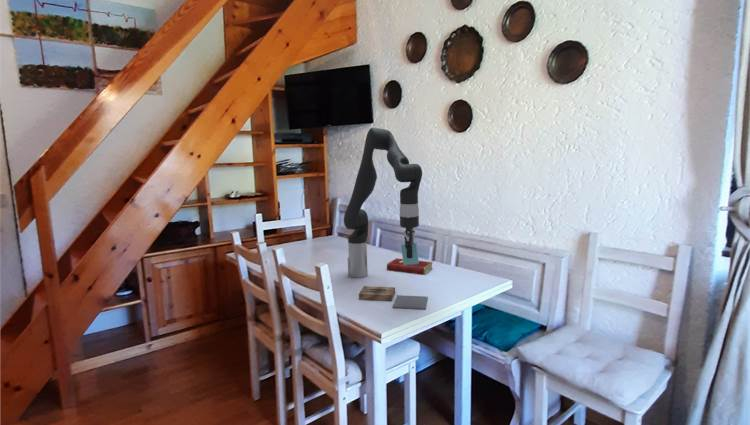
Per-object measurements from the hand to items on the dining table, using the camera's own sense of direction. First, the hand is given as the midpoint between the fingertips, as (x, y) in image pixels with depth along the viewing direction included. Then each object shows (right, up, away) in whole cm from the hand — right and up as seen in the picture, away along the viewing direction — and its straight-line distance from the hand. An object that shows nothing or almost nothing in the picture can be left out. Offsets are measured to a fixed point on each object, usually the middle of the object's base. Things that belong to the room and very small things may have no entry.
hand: (410, 257), depth 166 cm
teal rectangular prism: (+1, -3, 0) cm, 3 cm away
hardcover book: (+4, -12, +50) cm, 51 cm away
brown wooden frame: (-13, -18, +12) cm, 25 cm away
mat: (+1, -19, +3) cm, 19 cm away
